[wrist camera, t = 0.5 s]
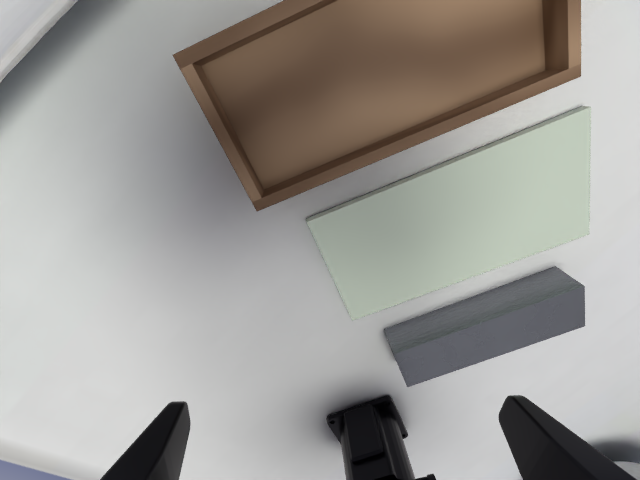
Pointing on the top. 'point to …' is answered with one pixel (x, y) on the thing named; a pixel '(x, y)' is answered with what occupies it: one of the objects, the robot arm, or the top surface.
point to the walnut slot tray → (368, 79)
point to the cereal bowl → (630, 468)
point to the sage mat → (460, 216)
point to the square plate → (26, 27)
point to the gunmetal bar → (488, 325)
